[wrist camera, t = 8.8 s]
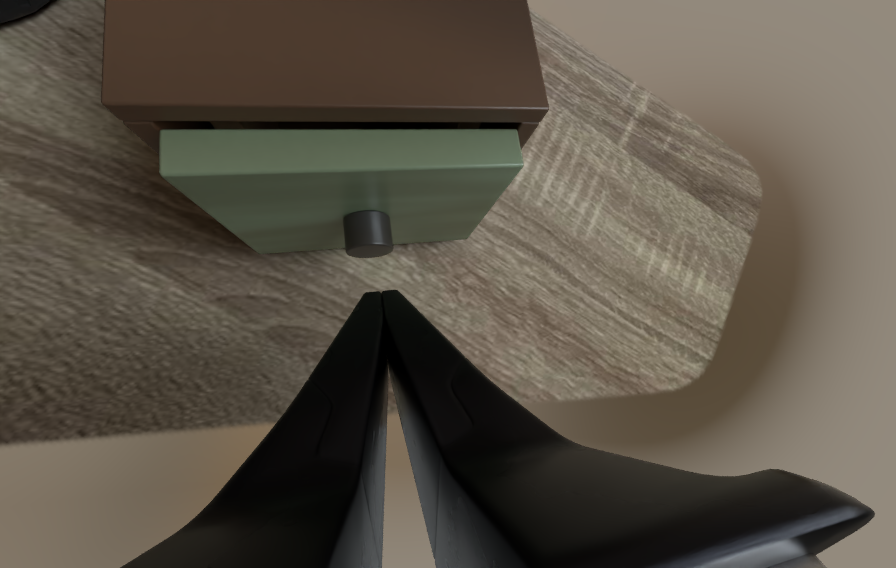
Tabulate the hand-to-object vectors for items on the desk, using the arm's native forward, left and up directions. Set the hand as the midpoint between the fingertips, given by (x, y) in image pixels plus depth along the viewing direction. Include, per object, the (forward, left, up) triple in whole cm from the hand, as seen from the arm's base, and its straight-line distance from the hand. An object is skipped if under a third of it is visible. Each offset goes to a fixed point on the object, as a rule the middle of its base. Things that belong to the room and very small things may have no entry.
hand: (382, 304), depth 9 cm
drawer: (+5, +5, -6) cm, 9 cm away
